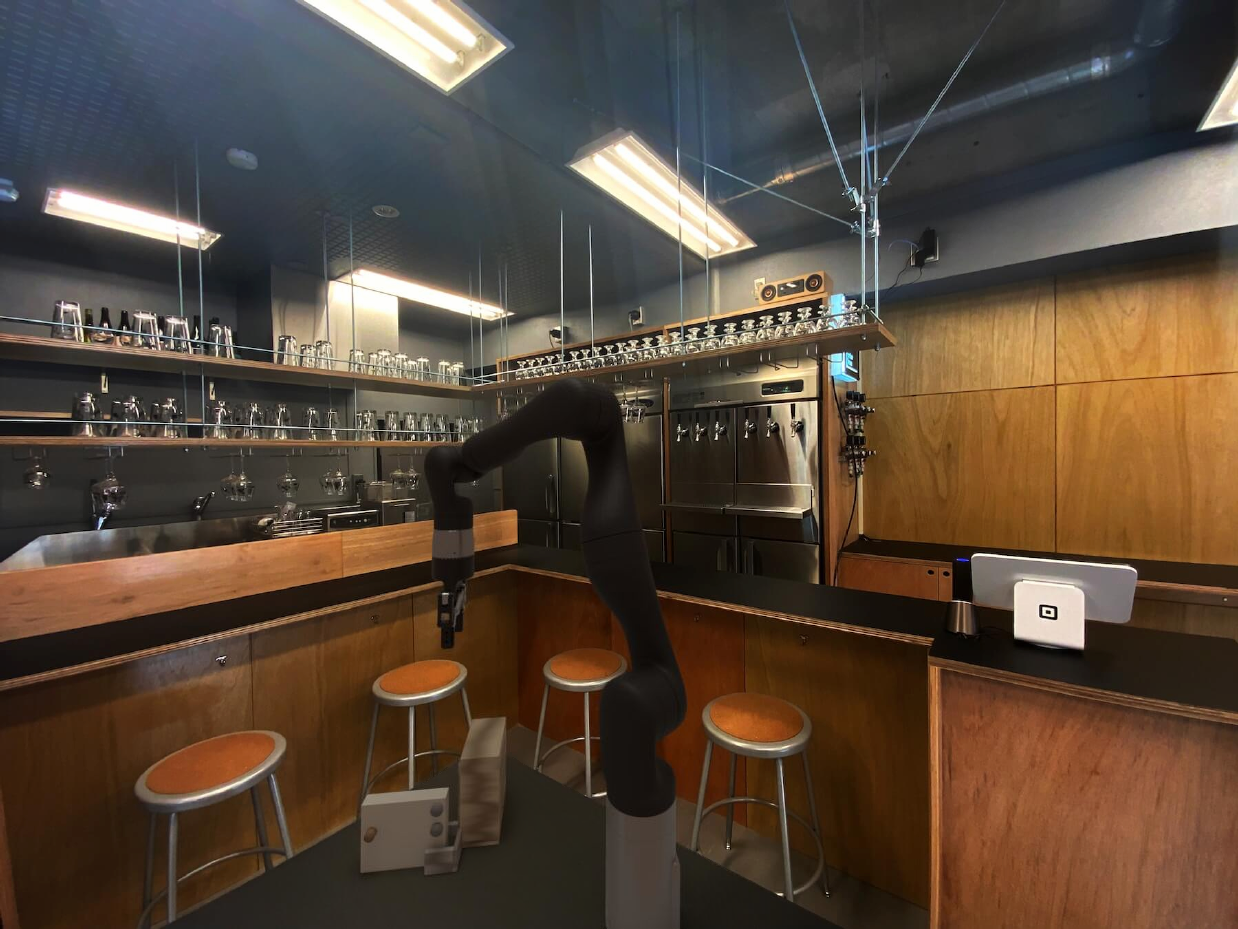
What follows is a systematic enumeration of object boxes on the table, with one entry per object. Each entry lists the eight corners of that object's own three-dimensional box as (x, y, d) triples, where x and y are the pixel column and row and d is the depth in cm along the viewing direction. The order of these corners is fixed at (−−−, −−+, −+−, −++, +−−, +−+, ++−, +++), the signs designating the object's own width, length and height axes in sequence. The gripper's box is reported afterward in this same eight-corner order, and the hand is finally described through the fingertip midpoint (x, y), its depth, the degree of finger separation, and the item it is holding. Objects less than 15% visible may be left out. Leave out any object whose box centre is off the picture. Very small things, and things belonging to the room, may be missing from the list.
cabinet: (505, 792, 87) (506, 717, 87) (495, 867, 71) (496, 774, 71) (448, 798, 86) (448, 721, 86) (424, 875, 69) (425, 780, 70)
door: (448, 851, 74) (448, 787, 74) (443, 870, 70) (443, 803, 70) (366, 860, 72) (367, 794, 72) (357, 880, 69) (358, 811, 69)
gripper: (467, 559, 82) (466, 653, 81) (479, 545, 96) (479, 626, 95) (422, 560, 80) (421, 655, 80) (441, 546, 95) (440, 627, 94)
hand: (452, 639), depth 88 cm, fingers open, 8 cm apart
